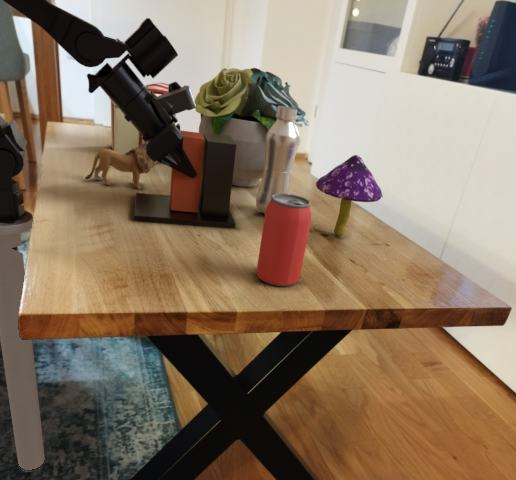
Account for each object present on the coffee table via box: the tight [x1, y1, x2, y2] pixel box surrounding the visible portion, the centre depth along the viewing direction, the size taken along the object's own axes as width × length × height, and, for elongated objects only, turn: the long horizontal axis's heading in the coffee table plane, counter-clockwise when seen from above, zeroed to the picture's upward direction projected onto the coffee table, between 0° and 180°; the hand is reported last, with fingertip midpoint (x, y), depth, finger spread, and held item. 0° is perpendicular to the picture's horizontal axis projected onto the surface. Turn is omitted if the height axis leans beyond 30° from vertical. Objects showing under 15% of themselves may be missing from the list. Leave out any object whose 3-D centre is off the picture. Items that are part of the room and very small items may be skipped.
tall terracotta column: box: [169, 129, 205, 213], centre depth 93 cm, size 5×6×13 cm
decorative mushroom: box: [315, 154, 384, 237], centre depth 94 cm, size 12×12×15 cm
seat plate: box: [133, 133, 237, 229], centre depth 93 cm, size 18×14×14 cm
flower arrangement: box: [194, 67, 310, 188], centre depth 115 cm, size 25×25×24 cm
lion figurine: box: [84, 142, 158, 190], centre depth 104 cm, size 15×5×9 cm, turn 103°
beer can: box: [255, 193, 312, 287], centre depth 73 cm, size 7×7×12 cm
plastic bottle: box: [255, 106, 301, 215], centre depth 98 cm, size 6×7×20 cm
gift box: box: [108, 82, 177, 153], centre depth 129 cm, size 17×18×17 cm
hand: (194, 172), depth 93 cm, fingers closed on tall terracotta column, 6 cm apart
